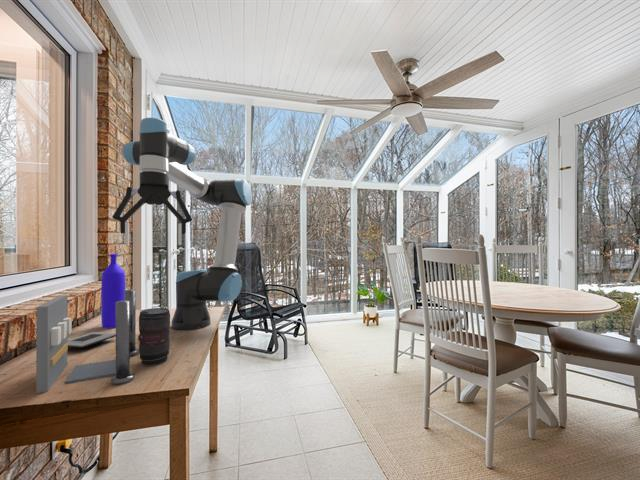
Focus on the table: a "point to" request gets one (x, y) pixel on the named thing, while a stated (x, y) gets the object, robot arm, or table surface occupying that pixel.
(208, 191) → the robot arm
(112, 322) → the bottle
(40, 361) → the breaker panel
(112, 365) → the pad
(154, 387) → the table surface
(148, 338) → the camera lens
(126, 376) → the post
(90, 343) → the electrical outlet
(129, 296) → the post
